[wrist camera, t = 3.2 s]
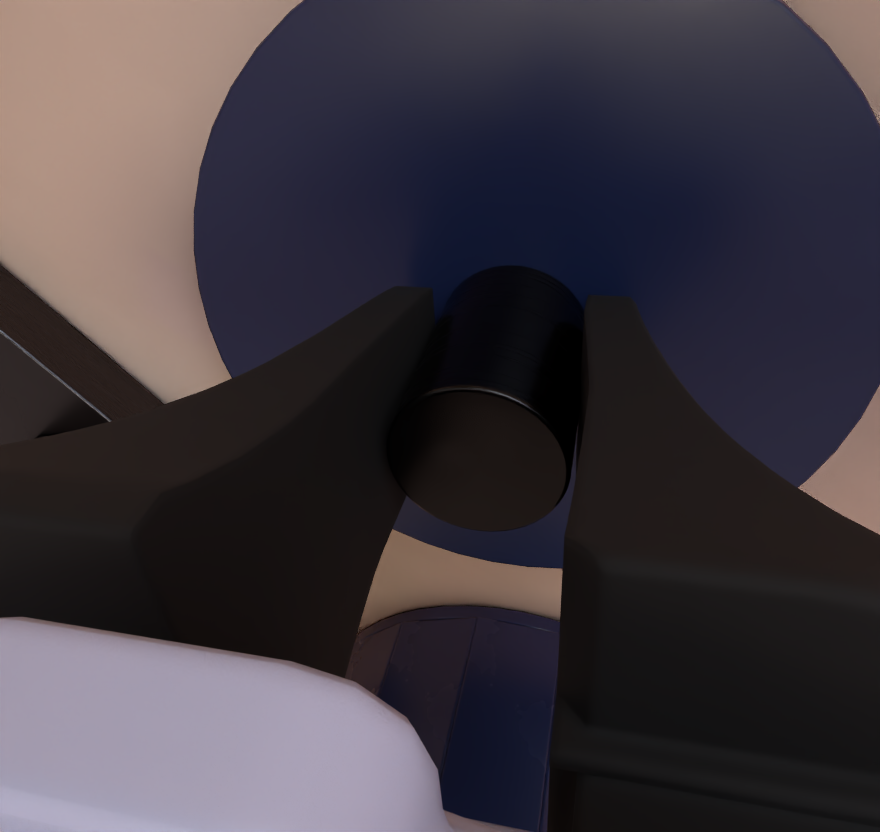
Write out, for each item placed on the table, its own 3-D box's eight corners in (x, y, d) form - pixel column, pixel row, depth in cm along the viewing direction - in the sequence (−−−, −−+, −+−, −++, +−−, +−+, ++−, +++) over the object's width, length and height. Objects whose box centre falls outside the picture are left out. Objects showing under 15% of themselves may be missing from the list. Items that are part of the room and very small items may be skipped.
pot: (530, 551, 17) (489, 787, 12) (773, 783, 20) (805, 1034, 16) (267, 671, 22) (177, 862, 18) (490, 838, 25) (458, 1033, 21)
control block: (-149, 412, 19) (-260, 489, 17) (-33, 215, 15) (-164, 284, 12) (165, 639, 22) (108, 731, 20) (342, 537, 18) (295, 641, 15)
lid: (587, -345, 8) (538, -496, 5) (1025, 363, 12) (1185, 583, 8) (113, 248, 14) (-62, 377, 11) (493, 594, 18) (455, 776, 14)
